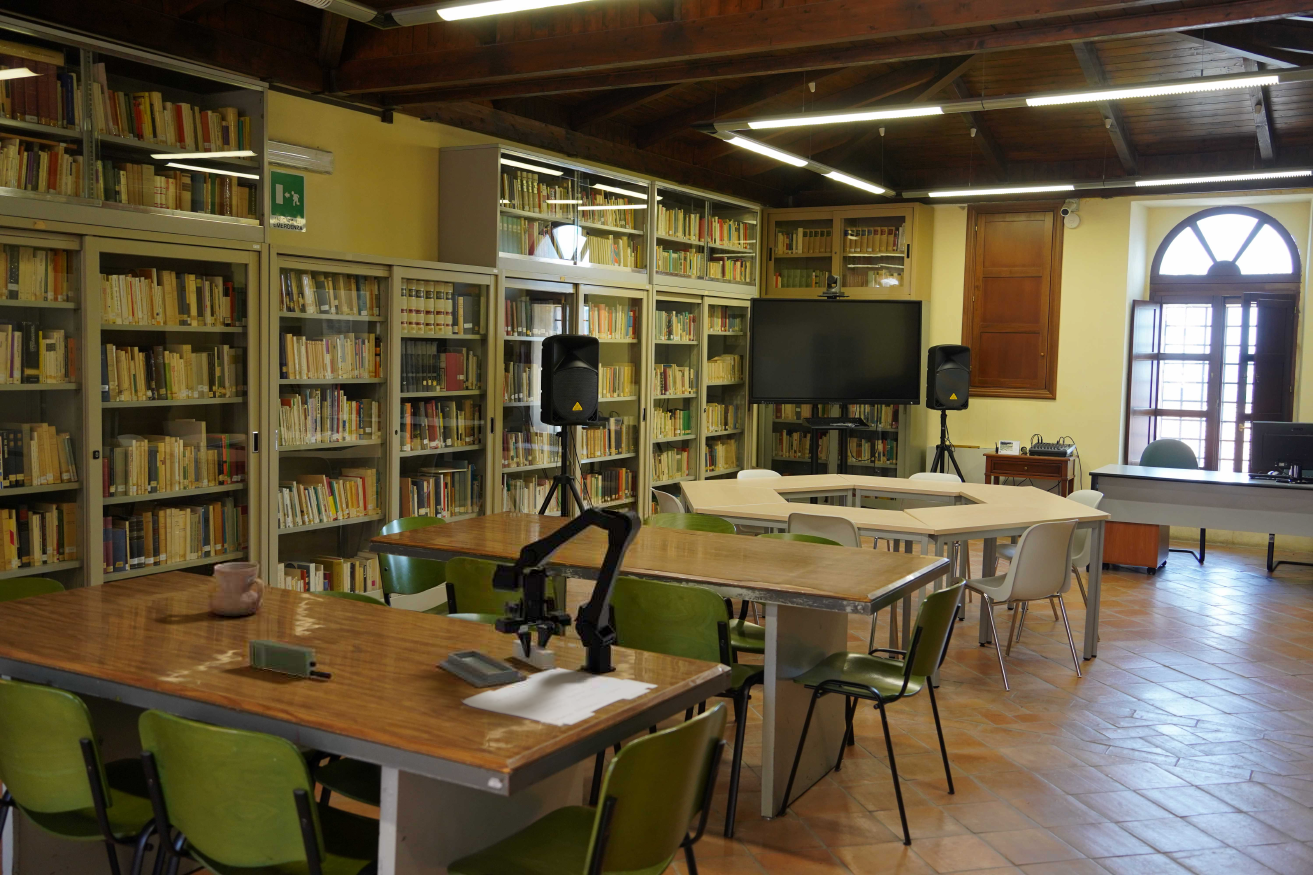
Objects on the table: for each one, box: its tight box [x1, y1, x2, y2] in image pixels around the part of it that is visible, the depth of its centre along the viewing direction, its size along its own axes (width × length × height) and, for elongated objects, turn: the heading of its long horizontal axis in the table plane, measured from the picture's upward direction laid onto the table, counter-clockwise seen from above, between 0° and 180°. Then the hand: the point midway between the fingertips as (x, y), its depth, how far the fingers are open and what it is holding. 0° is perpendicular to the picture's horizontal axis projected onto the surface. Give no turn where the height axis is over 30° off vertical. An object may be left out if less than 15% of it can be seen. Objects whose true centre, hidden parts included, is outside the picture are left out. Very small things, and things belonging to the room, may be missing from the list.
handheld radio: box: [248, 638, 332, 680], centre depth 247 cm, size 7×3×25 cm
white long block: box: [513, 639, 555, 671], centre depth 261 cm, size 15×3×4 cm, turn 35°
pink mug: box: [208, 561, 265, 617], centre depth 307 cm, size 18×14×14 cm
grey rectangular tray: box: [438, 649, 527, 689], centre depth 250 cm, size 22×12×3 cm, turn 35°
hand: (533, 656), depth 261 cm, fingers closed on white long block, 3 cm apart
